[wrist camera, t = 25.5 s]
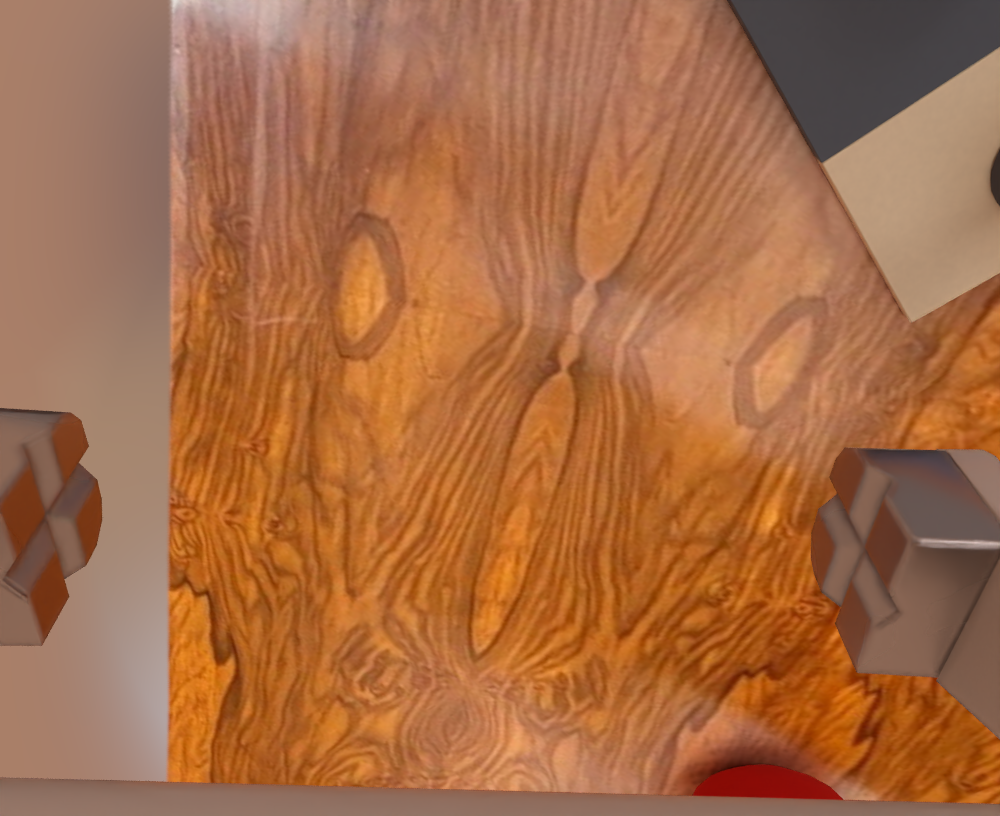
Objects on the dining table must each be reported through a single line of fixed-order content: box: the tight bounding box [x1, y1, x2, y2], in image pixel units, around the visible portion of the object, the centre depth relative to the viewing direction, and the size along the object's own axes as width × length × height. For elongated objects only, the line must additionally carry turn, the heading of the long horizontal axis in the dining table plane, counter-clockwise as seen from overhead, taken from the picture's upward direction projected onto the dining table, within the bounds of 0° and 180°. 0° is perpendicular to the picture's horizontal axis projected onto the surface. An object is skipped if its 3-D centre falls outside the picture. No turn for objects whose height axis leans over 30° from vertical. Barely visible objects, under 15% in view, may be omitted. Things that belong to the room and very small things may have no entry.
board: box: [727, 0, 1000, 323], centre depth 36 cm, size 16×20×1 cm
